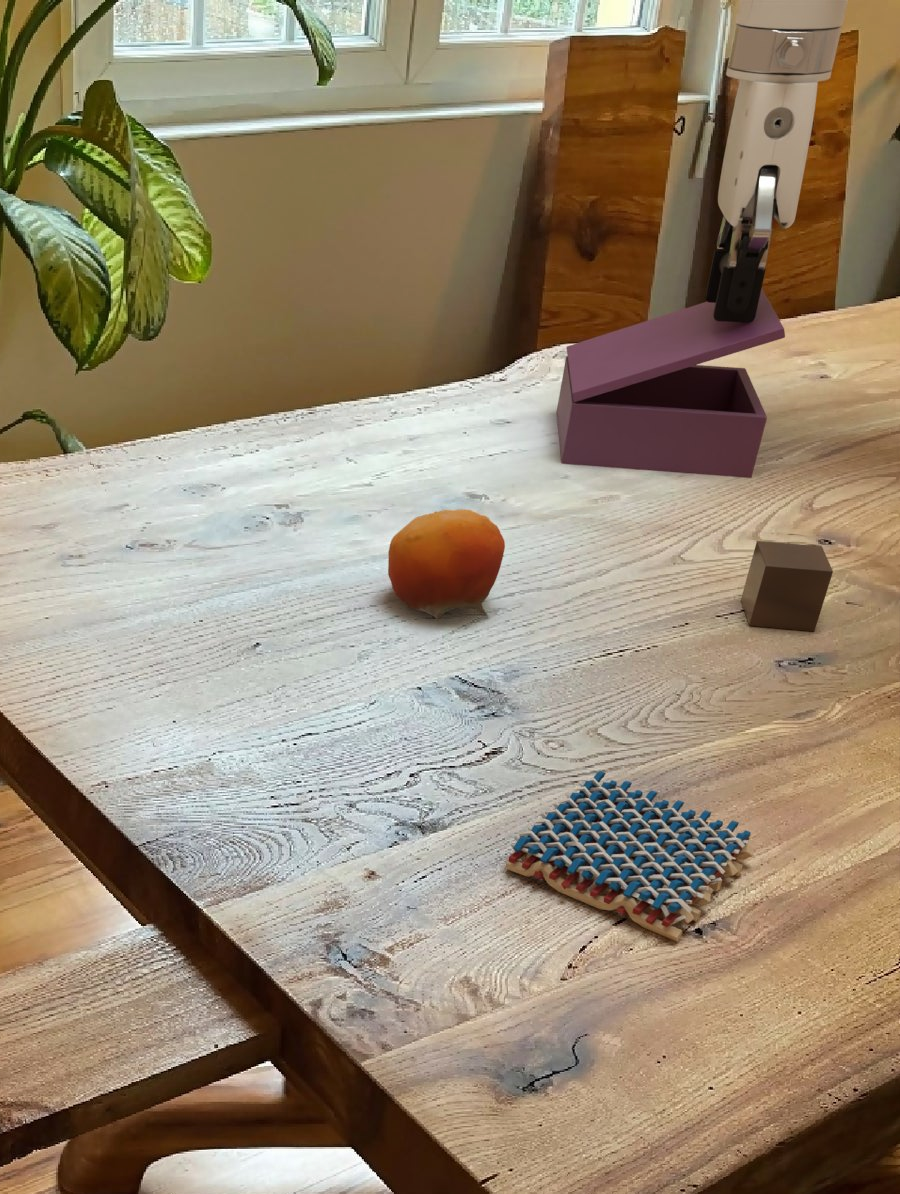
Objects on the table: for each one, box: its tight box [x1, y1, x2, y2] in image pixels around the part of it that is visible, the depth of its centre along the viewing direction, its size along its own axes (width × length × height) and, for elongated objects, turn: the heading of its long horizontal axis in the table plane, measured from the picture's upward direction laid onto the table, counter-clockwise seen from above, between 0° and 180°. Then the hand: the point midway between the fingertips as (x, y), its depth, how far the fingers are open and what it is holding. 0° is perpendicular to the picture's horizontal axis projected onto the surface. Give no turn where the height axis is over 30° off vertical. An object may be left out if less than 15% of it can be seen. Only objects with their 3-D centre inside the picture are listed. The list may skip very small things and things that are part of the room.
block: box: [740, 540, 834, 632], centre depth 104 cm, size 4×4×4 cm
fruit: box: [387, 509, 506, 622], centre depth 104 cm, size 8×8×8 cm
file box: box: [555, 356, 768, 479], centre depth 128 cm, size 16×14×7 cm
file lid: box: [566, 252, 786, 402], centre depth 122 cm, size 16×14×5 cm
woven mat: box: [504, 770, 755, 943], centre depth 80 cm, size 10×11×2 cm
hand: (729, 308), depth 121 cm, fingers closed on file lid, 5 cm apart
